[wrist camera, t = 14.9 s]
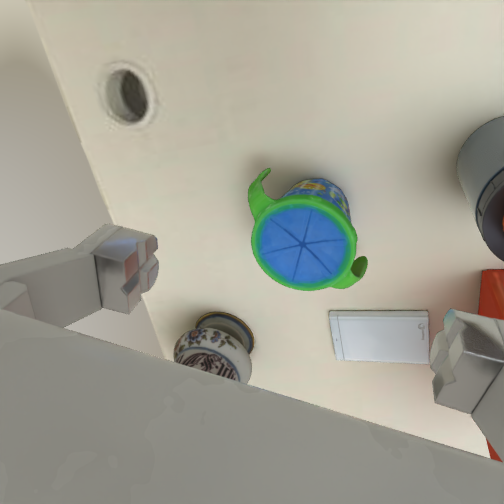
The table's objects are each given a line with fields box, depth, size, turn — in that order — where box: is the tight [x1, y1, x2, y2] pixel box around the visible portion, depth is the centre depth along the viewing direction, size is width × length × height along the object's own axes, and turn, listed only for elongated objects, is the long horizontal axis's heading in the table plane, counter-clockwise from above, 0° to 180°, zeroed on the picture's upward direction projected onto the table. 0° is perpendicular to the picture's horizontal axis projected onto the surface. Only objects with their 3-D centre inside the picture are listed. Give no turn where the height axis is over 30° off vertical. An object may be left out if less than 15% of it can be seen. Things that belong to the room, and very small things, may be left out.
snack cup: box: [248, 168, 368, 291], centre depth 44 cm, size 16×10×10 cm
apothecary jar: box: [174, 312, 254, 384], centre depth 56 cm, size 12×12×18 cm
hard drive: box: [329, 311, 430, 364], centre depth 54 cm, size 2×8×12 cm
